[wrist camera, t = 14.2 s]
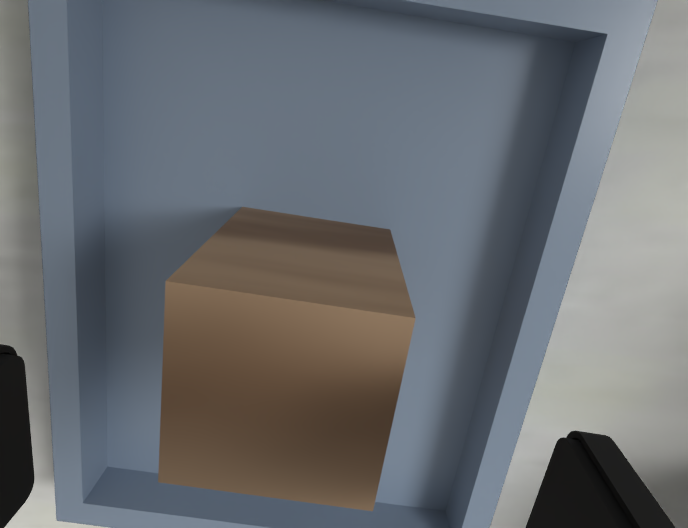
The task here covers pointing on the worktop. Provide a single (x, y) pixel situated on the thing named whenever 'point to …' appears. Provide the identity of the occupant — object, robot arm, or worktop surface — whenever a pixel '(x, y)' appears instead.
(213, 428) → the walnut block
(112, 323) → the tray
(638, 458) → the worktop surface
